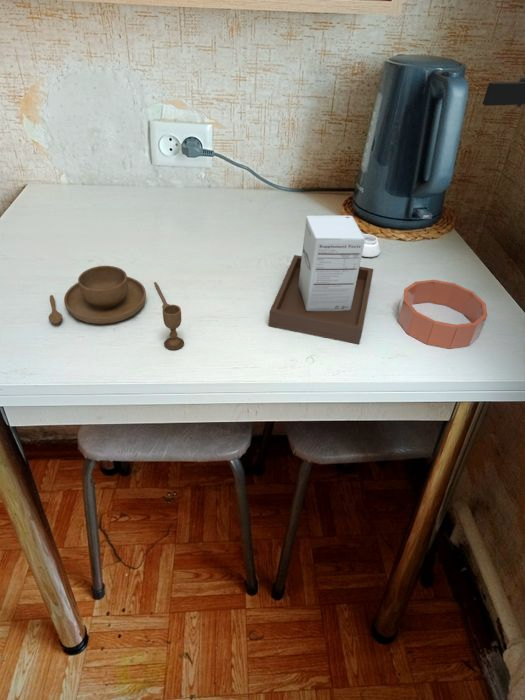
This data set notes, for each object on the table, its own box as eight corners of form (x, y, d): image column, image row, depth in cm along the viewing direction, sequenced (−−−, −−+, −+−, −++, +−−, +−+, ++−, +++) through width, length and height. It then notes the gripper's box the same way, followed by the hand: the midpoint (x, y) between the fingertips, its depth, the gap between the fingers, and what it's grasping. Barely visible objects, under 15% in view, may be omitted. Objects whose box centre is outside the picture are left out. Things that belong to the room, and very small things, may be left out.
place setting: (155, 275, 85) (152, 243, 81) (190, 347, 71) (189, 312, 67) (44, 293, 79) (35, 260, 75) (59, 375, 65) (49, 339, 62)
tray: (359, 344, 74) (362, 329, 72) (268, 326, 76) (269, 311, 74) (370, 282, 87) (373, 268, 85) (292, 268, 89) (294, 254, 87)
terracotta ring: (480, 355, 73) (490, 333, 71) (395, 338, 75) (402, 316, 73) (475, 309, 83) (483, 288, 80) (399, 295, 85) (405, 274, 82)
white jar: (382, 259, 94) (376, 246, 97) (385, 244, 92) (379, 231, 96) (355, 258, 93) (350, 245, 97) (358, 244, 91) (353, 231, 95)
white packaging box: (297, 286, 83) (305, 214, 75) (341, 286, 84) (354, 214, 76) (304, 312, 78) (314, 237, 70) (351, 311, 79) (366, 237, 71)
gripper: (715, 164, 63) (581, 174, 58) (568, 108, 81) (455, 111, 76) (756, 98, 58) (614, 102, 53) (590, 54, 76) (471, 54, 71)
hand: (520, 108), depth 64 cm, fingers open, 13 cm apart
